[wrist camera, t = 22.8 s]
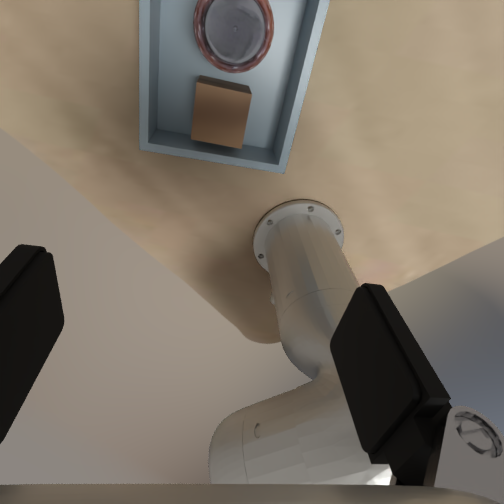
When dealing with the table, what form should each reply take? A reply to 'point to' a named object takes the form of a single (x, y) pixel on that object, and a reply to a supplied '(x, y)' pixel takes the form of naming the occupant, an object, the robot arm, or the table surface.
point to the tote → (258, 79)
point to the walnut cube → (220, 111)
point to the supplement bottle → (234, 32)
